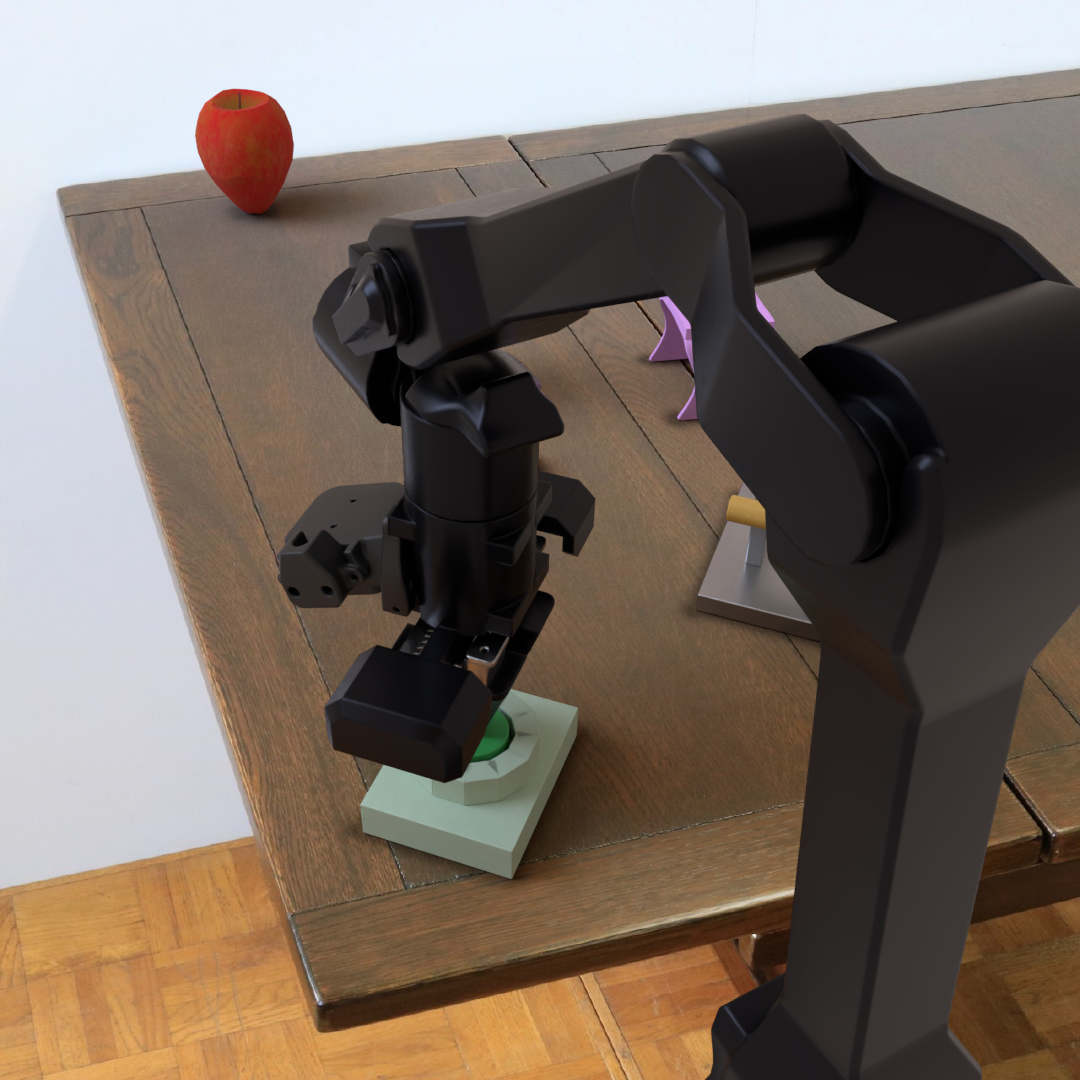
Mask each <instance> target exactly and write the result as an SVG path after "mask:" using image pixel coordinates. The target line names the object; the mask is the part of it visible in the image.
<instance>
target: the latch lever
mask: <svg viewBox="0 0 1080 1080" xmlns="http://www.w3.org/2000/svg"><path fill="white" fill-rule="evenodd" d="M737 495H738V494H732V495H731V496H730V498H729V501H728V505H727V508H726V509H727V510H726V514H725V520H726V522H727V521H730V522H734V523H738V524H743V525H747V526H751V527H755V528H760V529H764V530H766V520H765V509H764V508H763V506H762V505H761V504H760V503H759V501H758V500H755V499H750V498H746V497H742V496H737Z"/></svg>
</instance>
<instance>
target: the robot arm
mask: <svg viewBox="0 0 1080 1080" xmlns="http://www.w3.org/2000/svg"><path fill="white" fill-rule="evenodd" d="M347 250H348V252H347V253H348V263H349V265H348V266H349V267H347V268H346V269H344V270H343V271H342V272H341V273H340V274H338V275H337V276H336V277H335V278H334V279H333V280H332V281H331V282H330V284H329V285H328V286H327V287H326V289H325V290H324V291H323V292H322V295H321V297H320V299H319V301H318V302H317V306H316V309H315V310H316V311H315V314H313V316H312V332H313V336H314V340H315V343H316V344H317V346H318V348H319V349H320V351H321V353H322V354H323V355H324V356H325V357H326V359H327V360H328V361H329V362H330V364H331V365H332V366H333V367H334V369H335V370H336V371H337V372H338V374H339V375H340V376H341V377H342V378H343V380H344V381H345V382H346V384H348V386H349V387H350V388H351V390H353V392H354V393H355V394H356V395H357V397H358V398H359V399H360V401H361V402H362V403H363V404H364V405H365V407H366V408H367V409H368V410H369V412H371V414H372V416H374V418H375V419H376V420H377V421H378V422H379V423H380V424H382V425H387V424H388V425H389V426H394V427H400V430H401V451H402V470H403V471H402V472H403V484H402V483H401V482H397V481H388V482H387V481H386V482H373V483H359V484H358V483H357V484H347V485H346V484H345V485H338V486H334V487H331V488H329V489H326V490H324V491H322V492H321V493H320V494H318V495H317V497H315V499H314V500H312V502H311V503H310V505H309V506H308V507H307V509H306V510H305V511H304V512H303V514H302V515H301V516H300V517H299V518H298V520H297V521H296V522H295V524H294V525H293V526H292V527H291V528H290V530H289V531H288V532H287V534H286V535H285V537H284V538H283V542H284V543H283V544H284V546H283V547H282V548H281V549H280V551H279V552H278V553H277V554H276V557H277V560H278V563H279V564H278V574H277V581H278V582H279V584H280V585H281V587H282V589H283V591H284V593H285V594H286V596H287V598H288V600H289V601H290V603H292V604H293V605H295V606H296V607H298V608H300V609H337V608H340V607H341V606H342V604H343V603H344V602H345V600H346V599H347V598H348V596H366V595H367V596H369V595H370V596H371V595H376V594H380V597H381V609H382V611H383V612H386V613H389V614H393V615H396V616H397V615H398V616H401V617H405V618H406V617H407V618H408V617H410V614H411V613H412V612H415V613H419V614H420V616H419V618H418V620H417V621H416V623H415V624H414V623H410V622H407V623H406V625H404V627H403V629H402V631H401V633H400V634H399V635H398V637H397V639H396V640H395V641H394V643H393V645H392V646H391V648H390V647H387V646H383V645H379V644H375V645H373V646H372V647H370V648H369V649H367V650H364V651H363V652H361V653H359V654H358V655H357V657H356V658H355V659H354V662H353V663H352V664H351V666H350V668H349V669H348V671H347V672H346V673H345V675H344V677H343V678H342V680H341V681H340V682H339V684H338V685H337V687H336V689H335V690H334V691H333V693H332V694H331V696H330V697H329V699H328V700H327V702H326V703H325V705H324V707H323V709H324V710H323V711H324V718H325V727H326V735H327V740H328V742H329V743H330V746H331V747H332V750H333V751H336V752H340V753H343V754H346V755H350V756H353V757H356V758H359V759H363V760H366V761H368V762H369V761H370V762H373V763H376V764H379V765H382V766H383V765H386V766H389V767H392V768H396V769H399V770H402V771H405V772H409V773H412V774H415V775H419V776H422V777H425V778H429V779H432V780H435V781H439V782H442V783H447V782H450V781H453V780H456V779H459V778H462V777H463V775H464V773H465V771H466V769H467V767H468V766H469V764H470V762H471V760H472V758H473V756H474V754H475V752H476V750H477V748H478V746H479V745H480V743H481V741H482V739H483V737H484V735H485V732H486V729H487V726H488V724H489V723H490V721H491V719H492V718H493V716H494V714H495V713H496V711H497V710H498V708H499V707H500V705H501V703H502V702H503V700H504V699H505V698H506V697H507V695H508V694H509V692H510V690H511V689H512V688H513V686H514V684H515V682H516V680H517V678H518V676H519V675H520V672H521V671H522V669H523V667H524V665H525V663H526V662H527V659H528V655H530V652H531V650H532V648H533V647H534V645H535V643H536V641H537V640H538V638H539V636H540V634H541V632H542V630H543V629H544V627H545V625H546V623H547V621H548V620H549V617H550V615H551V613H552V611H553V610H554V607H555V604H556V599H555V597H554V596H553V595H552V593H549V592H547V591H543V590H540V588H541V586H542V584H543V583H544V581H545V578H546V577H547V575H548V574H549V573H548V572H550V555H551V554H550V553H546V552H544V550H545V548H546V546H547V538H546V537H545V536H543V535H539V534H537V532H539V533H540V532H541V533H544V534H549V535H553V536H557V537H560V538H562V542H561V543H562V545H561V546H562V547H561V552H562V553H564V554H566V555H570V556H572V557H577V558H578V557H579V555H580V553H581V551H582V550H583V547H584V546H585V545H586V543H587V540H588V538H589V536H590V535H591V533H592V531H593V528H594V526H595V525H594V524H595V513H596V497H595V496H594V495H593V493H591V491H589V489H588V488H587V487H586V486H585V484H584V483H582V481H581V480H580V479H578V478H574V477H569V476H564V475H560V474H556V473H552V472H549V471H548V472H547V471H543V470H539V467H540V466H539V464H540V460H539V459H540V443H541V442H544V441H546V440H551V439H554V438H557V437H560V436H562V435H563V434H564V433H565V429H566V427H565V423H564V420H563V418H562V416H561V413H560V411H559V409H558V407H557V405H556V404H555V403H554V402H553V401H552V400H551V399H550V398H549V396H547V394H545V393H544V392H543V391H542V383H541V382H540V379H539V378H538V377H537V376H536V375H535V374H534V373H533V372H532V371H531V370H530V369H529V368H528V367H527V366H526V365H525V364H524V363H523V362H522V361H521V360H519V358H517V357H516V356H515V355H513V354H511V353H509V352H508V351H505V350H502V349H503V348H506V347H509V346H513V345H517V344H521V343H524V342H528V341H531V340H535V339H539V338H542V337H547V336H549V335H553V334H556V333H558V332H560V331H563V330H564V329H565V328H567V327H569V326H570V325H573V324H574V323H575V322H578V321H579V320H581V319H582V318H584V317H586V316H588V315H589V313H590V311H591V310H593V309H601V308H605V307H611V306H617V305H624V304H631V303H635V302H641V301H642V302H643V301H647V300H653V299H660V297H666V296H668V297H669V298H670V300H671V301H672V302H673V303H674V304H675V306H676V307H677V308H678V309H679V311H680V312H681V313H682V314H683V315H684V317H685V318H686V319H687V320H688V322H689V323H690V326H691V338H692V353H693V368H694V372H693V380H694V381H693V382H694V386H695V398H696V413H697V418H698V419H697V421H698V423H699V426H700V427H701V430H702V431H703V432H704V433H705V434H706V436H707V437H708V438H709V440H710V441H711V442H712V443H713V445H714V446H715V448H717V450H718V451H719V452H720V454H721V455H722V457H723V458H724V459H725V460H726V461H727V463H728V464H729V466H730V468H732V469H733V471H734V472H735V473H736V474H737V476H738V477H739V479H740V480H742V483H743V482H744V483H745V485H746V486H747V487H748V488H749V490H750V491H751V492H752V494H753V495H754V496H755V497H756V499H757V500H758V501H759V503H760V504H761V505H762V506H763V508H764V509H765V520H766V541H767V555H768V560H769V562H770V564H771V566H772V567H773V569H774V570H775V572H776V573H777V574H778V576H779V577H780V579H781V580H782V582H783V583H784V584H785V586H786V587H787V589H788V590H789V592H790V593H791V595H792V596H793V597H794V599H795V600H796V602H797V603H798V605H799V606H800V607H801V609H802V610H803V612H804V613H805V615H806V616H807V618H808V619H809V620H810V622H811V623H812V625H813V626H814V628H815V629H816V630H817V632H818V633H819V636H820V641H819V643H820V644H819V646H820V647H819V648H820V655H819V665H818V675H817V684H816V692H815V693H816V694H815V700H814V701H815V703H814V711H813V721H812V729H811V739H810V747H809V755H808V764H807V773H806V774H807V775H806V783H805V792H804V801H803V809H802V810H803V811H802V820H801V828H800V836H799V845H798V846H799V847H798V854H797V862H796V863H797V864H796V871H795V872H796V873H795V881H794V889H793V890H794V891H793V899H792V907H791V918H790V926H789V934H788V944H787V953H786V963H785V969H784V972H783V973H781V974H779V975H777V976H775V977H773V978H771V979H769V980H768V981H765V982H764V983H762V984H760V985H757V986H756V987H754V988H753V989H750V990H749V991H747V992H745V993H743V994H741V995H739V996H738V997H736V998H734V999H731V1000H730V1001H728V1002H727V1003H725V1004H722V1005H721V1006H719V1007H718V1009H717V1012H716V1015H715V1017H714V1019H713V1022H712V1024H711V1028H710V1036H711V1048H712V1049H711V1050H712V1064H711V1069H710V1073H709V1074H708V1075H707V1077H705V1079H704V1080H983V1068H982V1066H981V1064H980V1063H979V1062H978V1061H977V1059H976V1058H975V1057H974V1056H973V1055H972V1053H970V1051H969V1050H968V1049H967V1048H966V1047H965V1045H964V1044H963V1043H962V1042H961V1041H960V1040H959V1038H958V1037H957V1036H956V1034H954V1032H953V1031H952V1030H951V1028H950V1027H949V1018H950V1015H951V1011H952V1010H951V1009H952V1006H953V1000H954V998H955V997H954V996H955V992H956V987H957V983H958V979H959V974H960V969H961V965H962V961H963V956H964V953H965V947H966V944H967V940H968V939H967V938H968V934H969V929H970V925H971V922H972V917H973V912H974V907H975V904H976V903H975V902H976V899H977V895H978V891H979V887H980V885H979V884H980V880H981V876H982V872H983V867H984V864H985V858H986V854H987V851H988V846H989V842H990V841H989V840H990V837H991V832H992V828H993V823H994V819H995V814H996V810H997V805H998V800H999V797H1000V792H1001V788H1002V784H1003V783H1002V782H1003V779H1004V775H1005V770H1006V765H1007V761H1008V757H1009V753H1010V748H1011V744H1012V738H1013V735H1014V730H1015V726H1016V721H1017V717H1018V712H1019V708H1020V703H1021V699H1022V695H1023V690H1024V686H1025V681H1026V678H1027V676H1028V673H1029V671H1030V670H1031V666H1032V665H1033V664H1034V662H1035V660H1036V659H1037V657H1038V656H1039V655H1040V654H1041V653H1042V651H1043V650H1044V649H1045V648H1046V647H1047V645H1048V644H1049V643H1050V642H1051V641H1052V639H1053V638H1054V637H1055V636H1056V635H1057V633H1059V631H1060V630H1061V628H1063V626H1064V625H1065V624H1066V623H1067V622H1068V620H1069V619H1070V617H1072V615H1073V614H1074V613H1075V612H1076V611H1077V609H1078V608H1079V607H1080V287H1078V286H1076V285H1075V284H1074V283H1073V282H1072V281H1071V280H1070V279H1068V278H1067V276H1065V275H1064V274H1063V273H1062V272H1061V271H1060V270H1059V269H1058V268H1057V267H1056V266H1055V265H1054V264H1053V263H1051V262H1050V261H1049V260H1048V259H1047V257H1045V256H1044V255H1043V254H1042V253H1041V252H1040V251H1039V250H1038V249H1037V248H1036V247H1035V246H1034V245H1032V244H1031V242H1029V240H1027V239H1026V238H1025V237H1024V236H1023V235H1021V234H1020V233H1019V232H1017V231H1015V230H1014V229H1013V228H1011V227H1010V226H1008V225H1005V224H1003V223H1001V222H1000V221H997V220H994V219H992V218H991V217H988V216H986V215H984V214H981V213H979V212H977V211H975V210H973V209H971V208H969V207H966V206H964V205H962V204H960V203H958V202H956V201H953V200H952V199H949V198H947V197H946V196H945V197H944V196H942V195H941V194H939V193H936V192H934V191H931V190H929V189H927V188H926V187H923V186H921V185H919V184H916V183H914V182H912V181H911V180H907V179H905V178H903V177H901V176H899V175H897V174H895V173H892V172H891V171H889V170H887V169H886V168H885V167H883V166H882V164H881V163H880V162H879V161H878V160H877V159H876V158H875V157H874V156H873V155H872V154H870V152H868V151H867V150H866V149H865V147H863V145H862V144H861V143H860V142H858V141H857V140H856V139H855V138H854V137H853V136H852V135H851V134H850V133H849V132H848V131H847V130H846V129H844V128H842V127H841V126H839V125H838V124H836V123H835V122H834V121H831V120H830V119H817V118H814V117H812V116H810V115H808V114H806V113H793V114H791V113H790V114H784V115H780V116H775V117H774V116H773V117H770V118H766V119H761V120H755V121H752V122H746V123H742V124H737V125H733V126H729V127H724V128H720V129H715V130H710V131H706V132H701V133H696V134H691V135H687V136H686V135H685V136H681V137H677V138H674V139H673V140H671V141H669V142H668V143H666V144H665V145H664V146H663V148H662V149H661V150H660V151H659V152H658V153H653V154H651V156H649V158H647V159H645V160H643V161H639V162H637V163H634V164H631V165H629V166H625V167H623V168H621V169H617V170H614V171H611V172H609V173H607V174H603V175H600V176H597V177H595V178H591V179H589V180H587V181H583V182H580V183H577V184H575V185H572V186H569V187H566V188H564V189H560V188H559V187H557V188H556V187H537V186H536V187H535V186H520V187H516V188H510V189H506V190H502V191H497V192H491V193H489V194H484V195H479V196H474V197H470V198H466V199H461V200H456V201H452V202H447V203H443V204H439V205H434V206H429V207H425V208H421V209H415V210H412V211H406V212H401V213H397V214H393V215H389V216H384V217H380V218H378V219H377V220H376V221H375V223H374V224H373V225H372V227H371V229H370V231H369V234H368V237H367V240H364V241H360V242H356V243H351V244H349V245H348V247H347ZM810 272H814V273H815V274H816V275H817V276H818V277H819V278H820V279H821V280H822V282H823V283H824V284H826V285H827V286H828V287H830V288H831V289H832V290H834V291H835V292H836V293H839V294H841V295H842V296H844V297H847V298H848V299H850V300H853V301H855V302H857V303H859V304H861V305H863V306H865V307H867V308H869V309H872V310H873V311H875V312H877V313H880V314H881V315H883V316H886V317H888V318H890V319H892V320H893V321H894V322H891V323H887V324H884V325H881V326H878V327H875V328H872V329H867V330H865V331H862V332H861V331H860V332H858V333H854V334H851V335H849V336H845V337H842V338H839V339H835V340H832V341H829V342H826V343H822V344H819V345H816V346H814V347H813V348H811V349H810V350H809V351H807V352H805V354H804V355H802V356H801V357H799V356H798V355H797V353H796V352H795V351H794V350H793V349H792V347H791V346H790V345H789V344H788V342H786V340H784V338H783V337H782V336H781V335H780V334H779V333H778V331H777V330H776V329H775V327H774V328H773V327H772V326H771V325H770V323H769V322H768V321H767V320H766V319H765V318H764V316H763V315H762V314H761V313H760V312H759V310H758V308H757V304H756V295H755V292H756V288H757V287H760V286H763V285H767V284H770V283H774V282H779V281H781V280H785V279H788V278H794V277H796V276H799V275H803V274H806V273H810Z"/></svg>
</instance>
